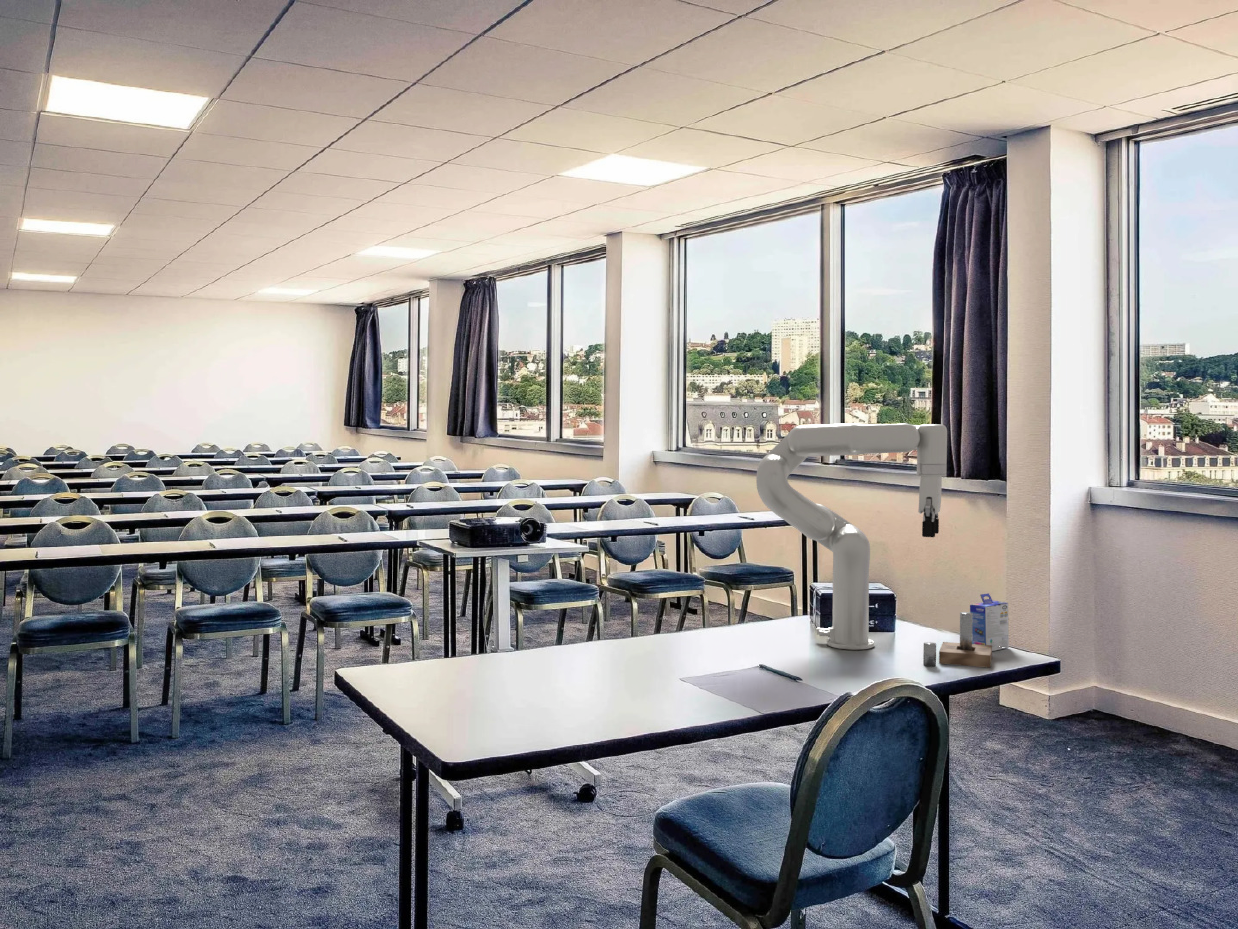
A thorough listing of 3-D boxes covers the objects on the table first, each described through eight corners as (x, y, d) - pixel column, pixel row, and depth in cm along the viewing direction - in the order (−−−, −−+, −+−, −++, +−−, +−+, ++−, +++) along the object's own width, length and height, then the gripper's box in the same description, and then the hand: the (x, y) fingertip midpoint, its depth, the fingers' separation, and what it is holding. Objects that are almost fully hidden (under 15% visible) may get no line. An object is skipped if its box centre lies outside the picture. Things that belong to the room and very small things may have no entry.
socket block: (939, 663, 258) (939, 651, 258) (942, 653, 270) (943, 641, 269) (990, 667, 254) (990, 655, 254) (991, 657, 265) (991, 645, 265)
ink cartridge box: (991, 644, 280) (992, 591, 279) (1009, 648, 275) (1010, 594, 275) (968, 649, 274) (969, 595, 274) (986, 653, 270) (986, 598, 269)
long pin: (959, 661, 261) (959, 613, 260) (959, 658, 264) (960, 611, 263) (971, 662, 260) (972, 614, 259) (972, 659, 263) (972, 612, 262)
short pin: (922, 666, 256) (923, 644, 255) (923, 663, 258) (924, 641, 258) (935, 667, 254) (935, 645, 254) (936, 664, 257) (936, 642, 257)
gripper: (920, 469, 284) (919, 531, 285) (913, 472, 268) (912, 537, 269) (949, 469, 281) (948, 532, 282) (943, 472, 265) (942, 539, 266)
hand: (930, 535), depth 275 cm, fingers open, 9 cm apart
